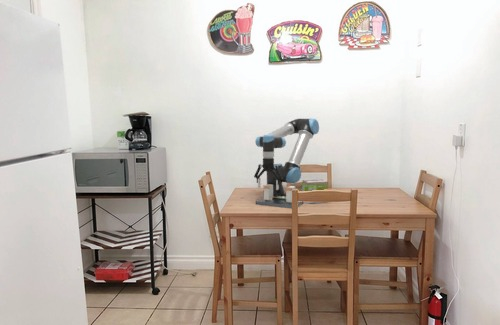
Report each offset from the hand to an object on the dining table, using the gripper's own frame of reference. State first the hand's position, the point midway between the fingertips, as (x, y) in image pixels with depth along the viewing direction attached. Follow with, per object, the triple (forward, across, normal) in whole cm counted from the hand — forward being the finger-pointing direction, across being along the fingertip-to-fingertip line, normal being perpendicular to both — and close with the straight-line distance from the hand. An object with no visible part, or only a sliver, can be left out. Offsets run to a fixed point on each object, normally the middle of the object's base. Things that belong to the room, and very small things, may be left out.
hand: (268, 188), depth 238 cm
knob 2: (+8, +16, 0) cm, 18 cm away
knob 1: (+8, 0, 0) cm, 8 cm away
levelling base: (+10, +8, 0) cm, 13 cm away
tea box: (+10, +28, +16) cm, 34 cm away
